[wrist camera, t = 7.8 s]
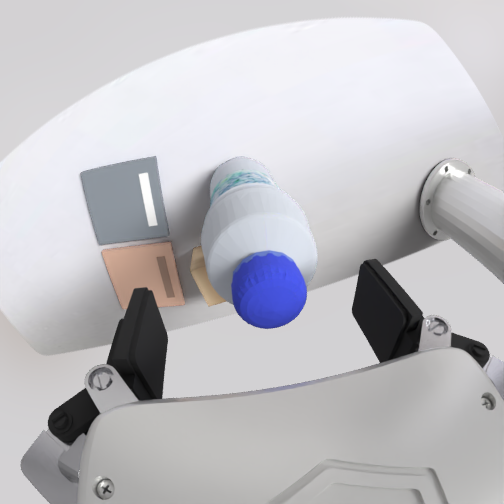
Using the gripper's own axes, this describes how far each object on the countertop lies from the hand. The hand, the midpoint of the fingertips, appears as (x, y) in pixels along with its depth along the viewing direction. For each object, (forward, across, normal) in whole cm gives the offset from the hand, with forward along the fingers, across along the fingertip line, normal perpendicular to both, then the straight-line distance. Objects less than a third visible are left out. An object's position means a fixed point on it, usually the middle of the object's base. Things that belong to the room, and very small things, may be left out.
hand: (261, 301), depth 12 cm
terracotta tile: (+20, +12, +11) cm, 25 cm away
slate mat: (+20, +12, +1) cm, 23 cm away
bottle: (+20, -1, 0) cm, 20 cm away
